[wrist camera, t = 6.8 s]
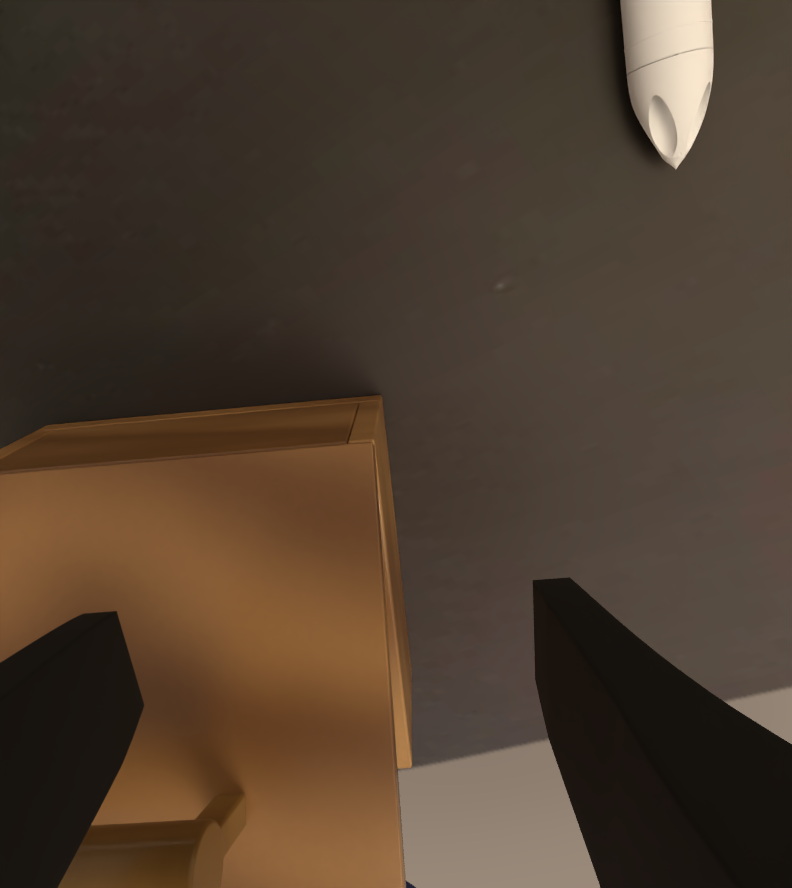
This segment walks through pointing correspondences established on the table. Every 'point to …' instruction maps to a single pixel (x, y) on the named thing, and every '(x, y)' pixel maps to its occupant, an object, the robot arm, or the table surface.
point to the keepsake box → (245, 435)
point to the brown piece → (226, 661)
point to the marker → (669, 69)
